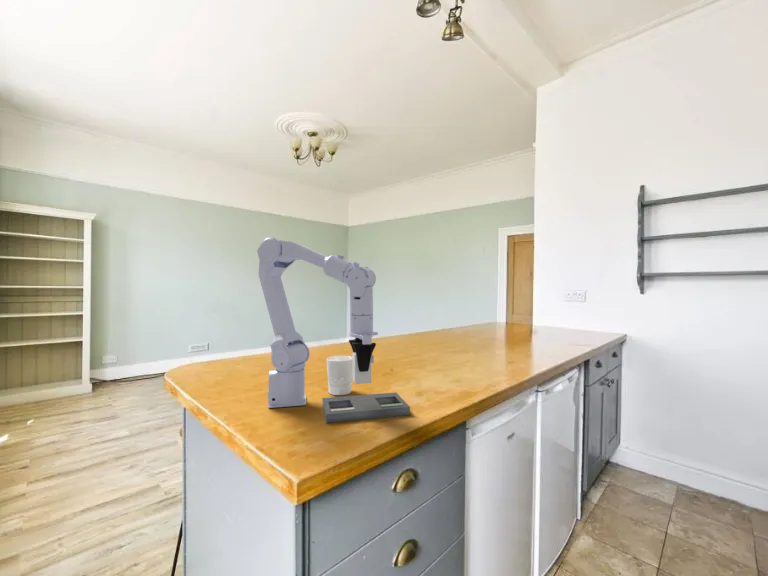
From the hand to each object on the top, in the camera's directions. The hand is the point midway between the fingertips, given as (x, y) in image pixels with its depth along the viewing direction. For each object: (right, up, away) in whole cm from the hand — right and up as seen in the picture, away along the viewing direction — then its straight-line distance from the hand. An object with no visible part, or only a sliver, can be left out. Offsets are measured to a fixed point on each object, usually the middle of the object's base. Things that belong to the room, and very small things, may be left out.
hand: (362, 369), depth 87 cm
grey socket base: (+1, -10, 0) cm, 10 cm away
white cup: (-7, -11, +16) cm, 20 cm away
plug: (0, -3, 0) cm, 3 cm away
